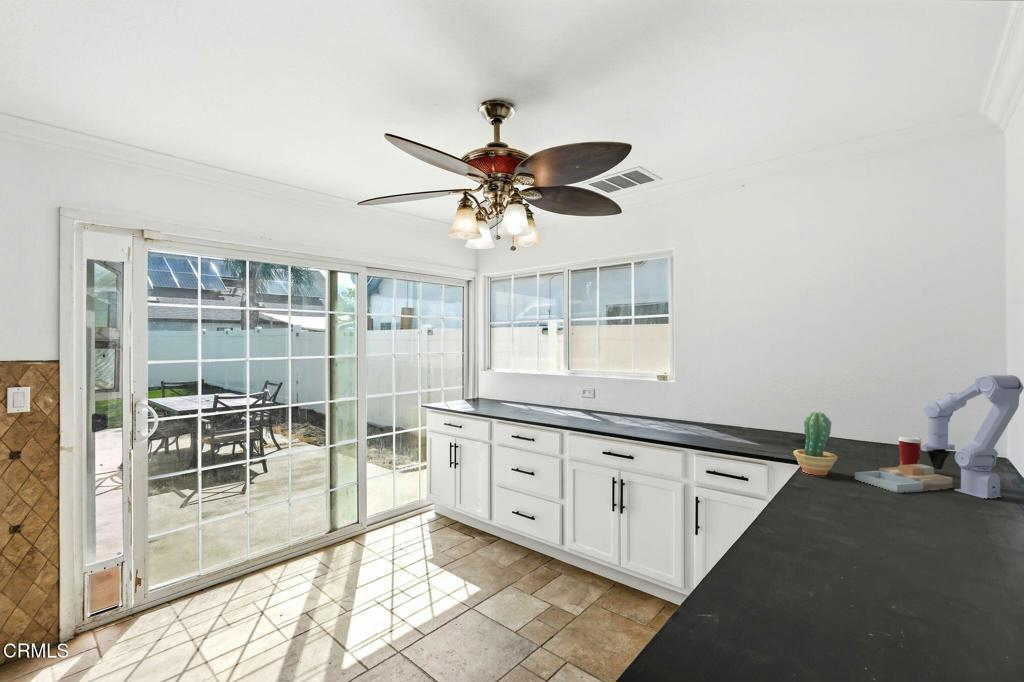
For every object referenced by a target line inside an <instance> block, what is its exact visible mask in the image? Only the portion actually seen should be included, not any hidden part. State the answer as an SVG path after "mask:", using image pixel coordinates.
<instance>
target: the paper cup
mask: <svg viewBox="0 0 1024 682" xmlns="http://www.w3.org/2000/svg"><path fill="white" fill-rule="evenodd" d="M897 441H898V446H899V447H898V449H899V463H900V464H899V465H910V464H920V460H921V459H920V457H921V445H922V443H923V441H922V440H921V438H920V437H915V436H907V435H901V436H899V437H898V439H897Z"/></svg>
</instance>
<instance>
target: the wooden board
mask: <svg viewBox="0 0 1024 682" xmlns="http://www.w3.org/2000/svg"><path fill="white" fill-rule="evenodd" d="M878 469H879V470H878V471H882V472H886V473H889V474H893V475H896V476H900V477H904V478H907V479H911V480H915V481H918V482H922V483H923V491H922V492H927V491H928V490H929V491H930V490H931V491H941V490H940V489H943V490H949V489H948V488H952V489H953V477H951V476H946V475H942V474H938V473H935V472H934V474H925V475H909V474H905V473H902V472H899V466H895V467H893V466H892V467H879V468H878ZM931 491H930V492H931Z"/></svg>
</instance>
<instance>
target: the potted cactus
mask: <svg viewBox="0 0 1024 682" xmlns="http://www.w3.org/2000/svg"><path fill="white" fill-rule="evenodd" d="M803 424H804V425H803V426H804V427H803V429H804V433H805V437H806V438H805V447H804V449H796V450H793V452H792V453H793V456H795V457H796V461H797V463H798V465H799V466H800V467H801V469H802V470H801V472H802V471H803V472H805V473H808V474H814V475H827V474H828V473H829V472H830V470H831V469H832V468H833V466H834V465H835V462H836V461H837V460H838V458H839V457H838V456H837V455H836V454H834V453H831V452H828V451H825V447H826V444H827V440H828V438H829V437H830V435H831V431H832V424H833V422H832V421H831V420H830V418H829V417H828V416H826V414H825V413H824V412H823V413H822V412H816V411H811V412H810V413H809V414H808V415H807V416H806V417H805V420H804V421H803ZM803 472H802V473H803ZM805 473H804V474H805ZM808 474H807V475H808ZM828 475H829V474H828Z"/></svg>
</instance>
